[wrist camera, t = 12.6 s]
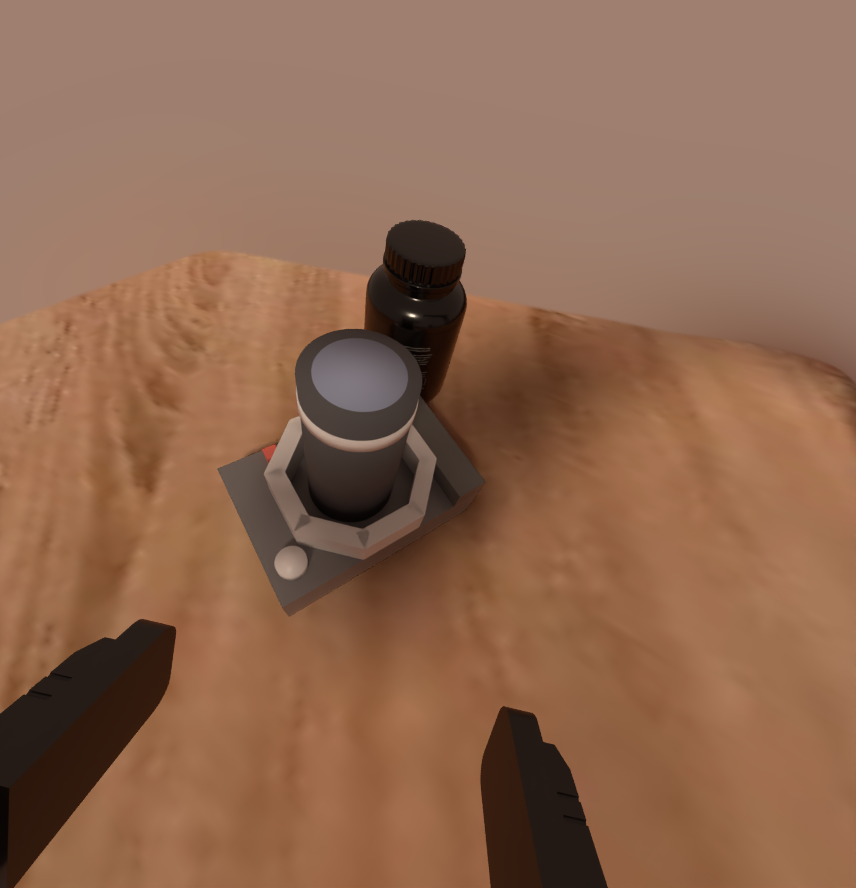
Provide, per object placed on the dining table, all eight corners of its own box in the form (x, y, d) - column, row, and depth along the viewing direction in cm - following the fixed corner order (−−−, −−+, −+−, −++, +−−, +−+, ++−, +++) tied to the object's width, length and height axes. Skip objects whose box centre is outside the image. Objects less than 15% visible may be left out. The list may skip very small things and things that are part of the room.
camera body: (399, 416, 31) (408, 373, 27) (466, 509, 28) (487, 478, 24) (229, 490, 26) (207, 451, 21) (289, 616, 22) (276, 600, 18)
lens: (368, 435, 26) (385, 315, 18) (408, 499, 24) (447, 398, 16) (293, 466, 24) (272, 345, 16) (331, 538, 22) (329, 445, 14)
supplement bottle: (457, 377, 34) (505, 249, 24) (409, 424, 31) (440, 297, 21) (396, 335, 36) (417, 197, 26) (343, 376, 32) (343, 234, 22)
